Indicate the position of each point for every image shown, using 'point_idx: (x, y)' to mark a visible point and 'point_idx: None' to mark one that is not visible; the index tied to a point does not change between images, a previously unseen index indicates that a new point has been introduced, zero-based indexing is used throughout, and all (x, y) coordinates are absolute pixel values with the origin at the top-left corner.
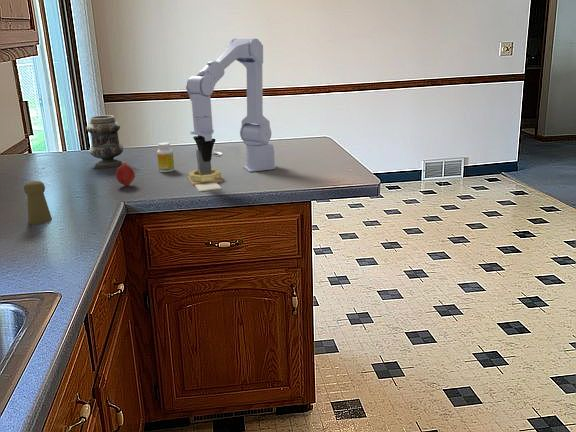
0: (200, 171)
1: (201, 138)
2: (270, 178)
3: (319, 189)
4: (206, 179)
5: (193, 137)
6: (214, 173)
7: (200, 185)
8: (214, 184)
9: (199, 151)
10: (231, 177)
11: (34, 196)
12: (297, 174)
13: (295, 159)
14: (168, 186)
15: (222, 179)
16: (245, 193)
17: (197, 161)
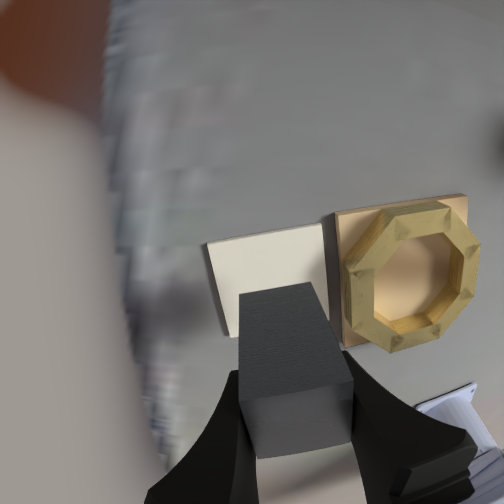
0: (240, 304)
1: (382, 496)
2: (317, 451)
3: None
4: (346, 287)
5: (434, 460)
6: (381, 330)
7: (302, 251)
8: None
9: (260, 408)
10: (391, 362)
11: None
12: (325, 485)
13: None
14: (358, 89)
15: (347, 344)
16: (156, 396)
17: (319, 319)
